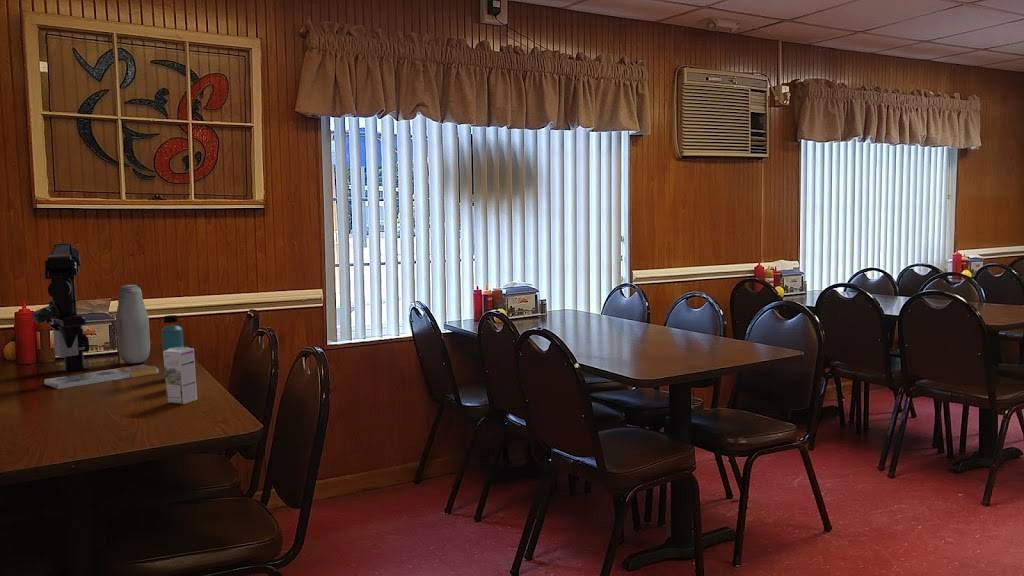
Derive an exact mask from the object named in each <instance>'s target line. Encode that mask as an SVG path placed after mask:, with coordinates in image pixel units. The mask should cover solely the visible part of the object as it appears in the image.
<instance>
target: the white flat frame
mask: <svg viewBox="0 0 1024 576" xmlns="http://www.w3.org/2000/svg"><path fill="white" fill-rule="evenodd" d="M159 373H160V370H159V367H157V366H156V365H154V366H152V365H151V366H150V365H146V364H137V365H132V366H125V367H119V368H112V369H105V370H98V371H91V372H86V373H79V374H73V375H72V374H71V375H66V376H59V377H53V378H52V377H51V378H45V379H44V385H45V386H49V387H51V388H54V389H56V390H61V389H67V388H75V387H79V386H85V385H86V386H87V385H91V384H97V383H98V384H99V383H104V382H111V381H117V380H123V379H128V378H138V377H143V376H144V377H145V376H151V375H156V374H159Z"/></svg>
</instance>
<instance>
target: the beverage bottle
mask: <svg viewBox="0 0 1024 576" xmlns="http://www.w3.org/2000/svg"><path fill="white" fill-rule="evenodd" d="M178 322H179V316H178V315H174V314H172V315H171V314H169V315H165V316H164V317H163V323H164V324H171V323H172V324H173V323H178ZM160 332H161V349H162V352H163V351H165V350H168V349H169V348H174V347H185V346H184V336H183V335H184V334H183V333H184V331H183V328H182V327H181V326H180V325H176V324H175V325H166V326H164V327H163V328H161V330H160ZM162 359H163V360H162V361H163V362H162V363H164V356H163V355H162ZM163 372H164V373H163V374H164V375H165V369H164V365H163Z"/></svg>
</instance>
